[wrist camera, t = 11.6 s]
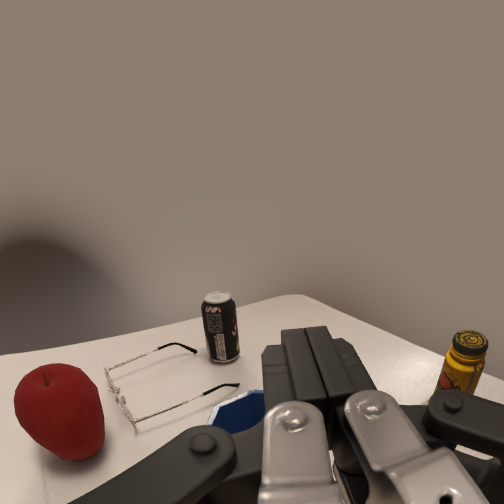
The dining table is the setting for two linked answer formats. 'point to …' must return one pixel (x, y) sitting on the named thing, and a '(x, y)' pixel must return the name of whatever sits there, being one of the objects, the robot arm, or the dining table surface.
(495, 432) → the robot arm
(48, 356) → the dining table surface
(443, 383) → the condiment
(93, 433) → the apple
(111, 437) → the dining table surface
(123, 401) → the eyeglasses
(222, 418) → the glazed bowl
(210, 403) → the dining table surface
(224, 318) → the beverage can
